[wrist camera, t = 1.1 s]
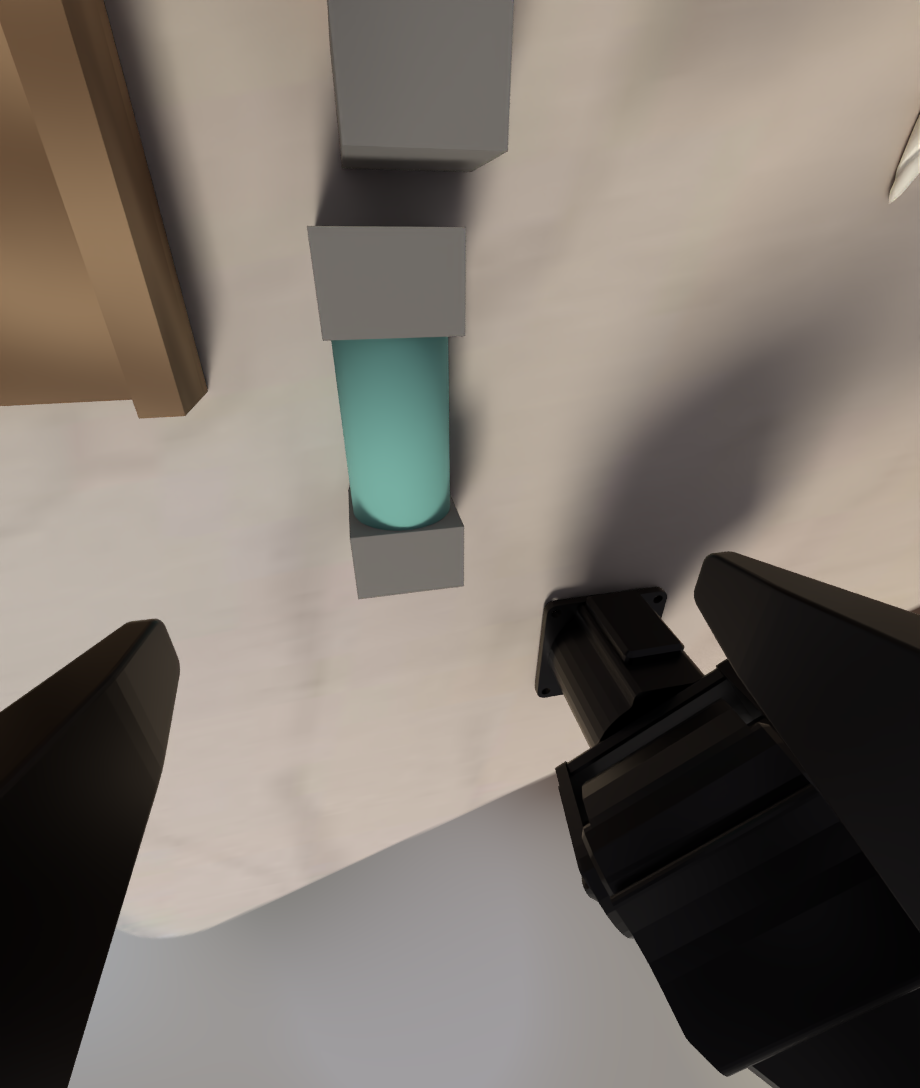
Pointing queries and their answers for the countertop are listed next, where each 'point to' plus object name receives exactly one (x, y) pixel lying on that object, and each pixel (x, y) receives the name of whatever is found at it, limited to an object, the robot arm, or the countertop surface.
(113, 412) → the countertop surface
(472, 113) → the orange capped cylinder
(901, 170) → the unicorn horn
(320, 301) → the teal capped cylinder
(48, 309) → the wooden tray
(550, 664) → the robot arm
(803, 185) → the countertop surface
